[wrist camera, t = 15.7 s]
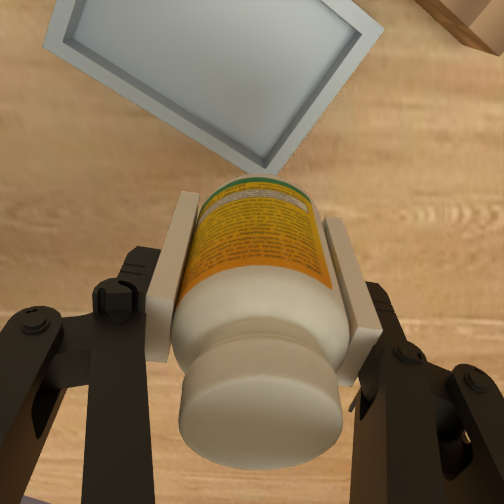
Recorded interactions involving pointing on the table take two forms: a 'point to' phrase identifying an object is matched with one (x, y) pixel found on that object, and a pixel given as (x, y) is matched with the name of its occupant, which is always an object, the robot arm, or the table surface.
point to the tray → (220, 65)
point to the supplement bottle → (260, 329)
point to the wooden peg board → (471, 21)
